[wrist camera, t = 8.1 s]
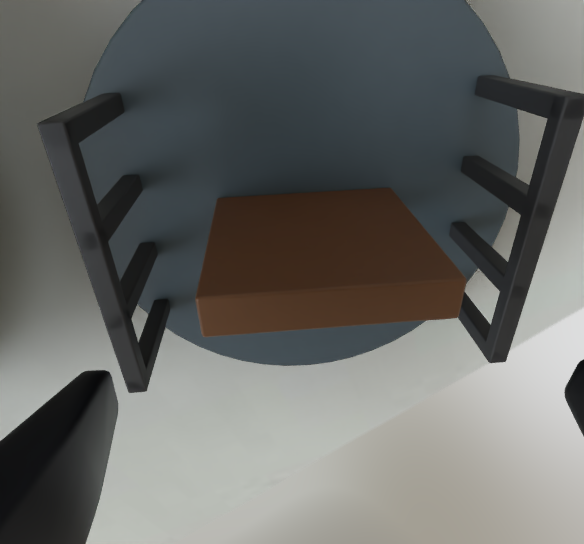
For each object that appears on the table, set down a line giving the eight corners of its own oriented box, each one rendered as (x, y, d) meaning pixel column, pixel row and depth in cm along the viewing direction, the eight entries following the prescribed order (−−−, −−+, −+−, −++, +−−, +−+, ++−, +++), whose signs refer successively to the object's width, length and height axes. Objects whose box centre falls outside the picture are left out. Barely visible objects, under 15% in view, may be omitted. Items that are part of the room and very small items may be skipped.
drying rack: (463, 338, 21) (556, 477, 14) (141, 364, 20) (88, 523, 14) (574, -125, 12) (947, -300, 5) (-4, -112, 11) (-356, -298, 5)
